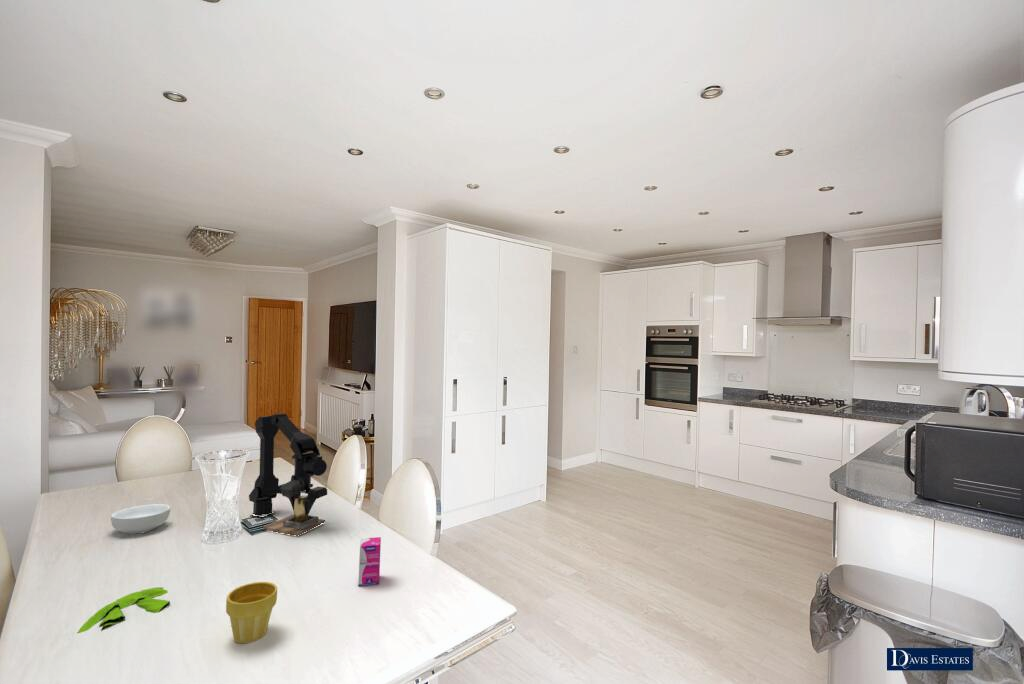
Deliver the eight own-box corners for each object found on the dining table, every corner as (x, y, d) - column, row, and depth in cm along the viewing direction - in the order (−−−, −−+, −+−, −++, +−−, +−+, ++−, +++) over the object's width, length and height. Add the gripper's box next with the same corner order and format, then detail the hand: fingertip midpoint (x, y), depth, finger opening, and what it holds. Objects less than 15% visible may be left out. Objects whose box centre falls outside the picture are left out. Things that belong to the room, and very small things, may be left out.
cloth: (167, 584, 130) (167, 575, 130) (192, 613, 116) (192, 603, 116) (67, 614, 114) (67, 604, 114) (82, 652, 100) (83, 640, 100)
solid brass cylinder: (290, 523, 170) (291, 498, 170) (300, 518, 175) (301, 494, 175) (301, 525, 168) (302, 500, 169) (311, 520, 173) (312, 496, 173)
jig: (262, 530, 168) (262, 521, 168) (291, 518, 182) (292, 509, 182) (297, 537, 163) (297, 527, 163) (324, 523, 176) (325, 514, 177)
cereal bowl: (181, 523, 174) (181, 504, 175) (141, 540, 158) (142, 519, 158) (140, 520, 176) (141, 502, 176) (96, 537, 160) (98, 517, 160)
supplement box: (358, 587, 129) (359, 545, 129) (359, 577, 135) (360, 537, 135) (379, 584, 130) (380, 544, 131) (379, 575, 136) (380, 536, 137)
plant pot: (283, 621, 112) (285, 580, 112) (262, 648, 101) (264, 603, 102) (240, 621, 111) (242, 580, 112) (214, 648, 101) (216, 603, 101)
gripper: (265, 474, 167) (264, 517, 167) (307, 479, 162) (305, 524, 161) (289, 467, 178) (287, 507, 177) (328, 472, 172) (327, 514, 172)
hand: (301, 513), depth 172 cm, fingers closed on solid brass cylinder, 5 cm apart
